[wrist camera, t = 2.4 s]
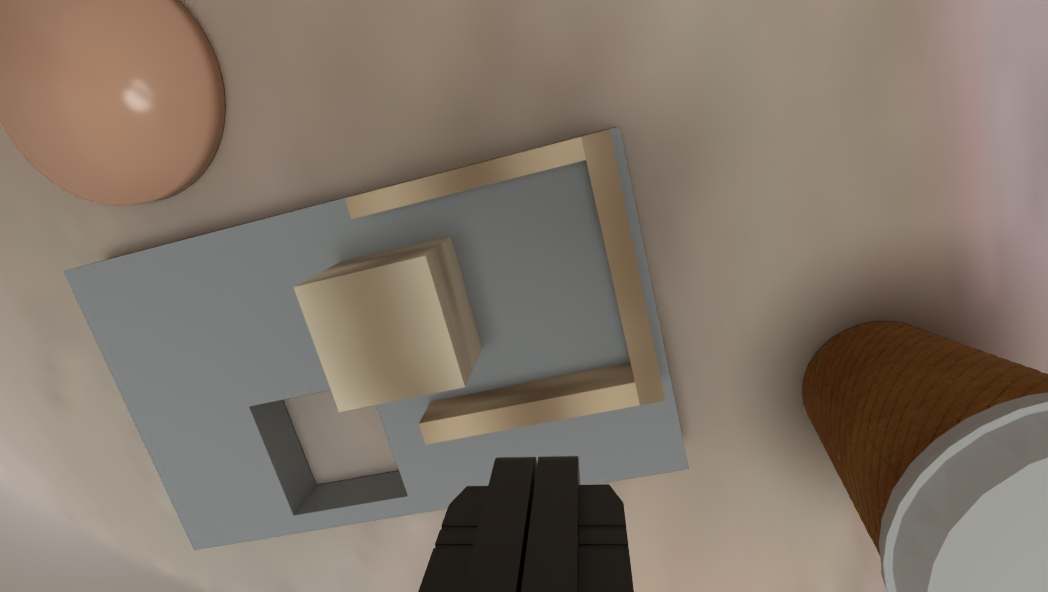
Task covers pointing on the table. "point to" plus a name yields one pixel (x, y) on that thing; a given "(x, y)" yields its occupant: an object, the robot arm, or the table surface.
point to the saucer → (110, 95)
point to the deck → (295, 370)
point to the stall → (642, 373)
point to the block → (392, 324)
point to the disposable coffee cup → (937, 456)
